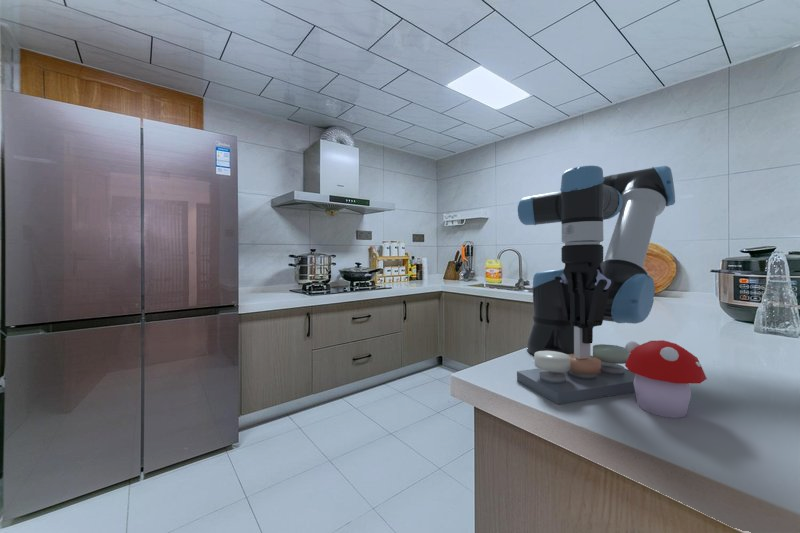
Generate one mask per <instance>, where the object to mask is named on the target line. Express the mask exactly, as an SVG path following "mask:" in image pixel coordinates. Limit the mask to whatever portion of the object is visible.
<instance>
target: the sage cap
mask: <svg viewBox="0 0 800 533" xmlns="http://www.w3.org/2000/svg"><path fill="white" fill-rule="evenodd" d="M629 355H630V353H629V352H628V351H627V350H626V347H623V346H620V345H614V344H601V343H600V344H594V345H593V346H592V356H594V357H597V358H599V359H600V360H601V361H603V362H607V363H614V364H618V365H623V364H624V365H625V364H626V362H627V359H628V357H629Z"/></svg>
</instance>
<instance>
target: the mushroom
mask: <svg viewBox="0 0 800 533" xmlns="http://www.w3.org/2000/svg"><path fill="white" fill-rule="evenodd" d="M624 348H626V350H627V351H628V352H629V353H630V355H629V357H628V359H627V362H626V364H624V366H625V367H626V369H628V370H629V371H630V372H633V373H636V375H635V378H634V382H633V383H634V388H635V392H634V393H635V397H636V402H637V406H638V407H639V408H641V409H642V410H643V411H646V412H647V413H650V414H652V415H653V414H654V415H656V416H660V417H665V418H671V419H673V418H675V419H679V418H680V419H681V418H684V417H686V415H687V413H688V408H689V406H690V400H691V396H692V392H691V391H692V390H691V387H690V384H696V385H698V384H702V383H703V382H704V381H705V380H707V379H708V378H707V377H706V373H705V371H704V369H703V367H702V364H701V363H700V360H699V358H698V357H697V356H695V354H694V353H691V352H690V351H688V350H687V349H686V348H684V347H683V346H680V345H679V344H677V343H674V342H671V341H667V340H664V339H662V340H649V341H647V342H644V343H642V344H639V343H638V342H636V341H629V342H626V344H625V347H624Z"/></svg>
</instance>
